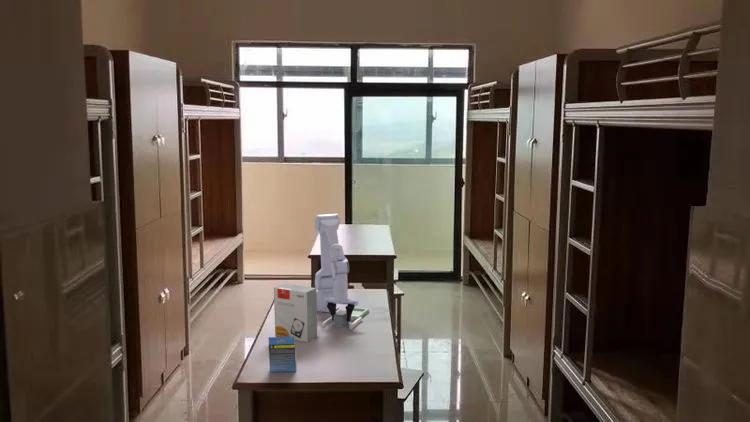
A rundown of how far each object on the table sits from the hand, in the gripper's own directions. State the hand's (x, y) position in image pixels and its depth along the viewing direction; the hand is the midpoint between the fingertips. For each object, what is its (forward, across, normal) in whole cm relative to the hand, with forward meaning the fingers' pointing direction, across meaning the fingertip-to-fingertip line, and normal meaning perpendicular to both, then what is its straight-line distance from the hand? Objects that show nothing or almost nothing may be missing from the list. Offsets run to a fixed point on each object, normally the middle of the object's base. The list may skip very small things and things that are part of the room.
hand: (341, 320), depth 273 cm
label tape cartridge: (+2, 0, -53) cm, 53 cm away
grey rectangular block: (+2, 0, 0) cm, 2 cm away
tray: (+1, 0, +14) cm, 14 cm away
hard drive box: (+2, -11, -20) cm, 23 cm away
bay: (+1, 0, +1) cm, 2 cm away
